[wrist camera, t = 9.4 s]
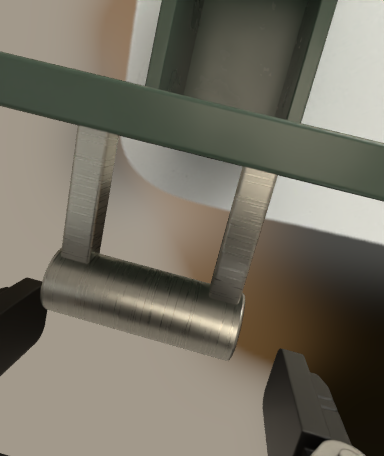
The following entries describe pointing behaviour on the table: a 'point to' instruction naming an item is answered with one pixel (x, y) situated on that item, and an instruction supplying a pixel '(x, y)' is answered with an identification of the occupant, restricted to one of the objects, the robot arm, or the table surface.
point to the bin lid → (187, 142)
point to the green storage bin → (241, 52)
